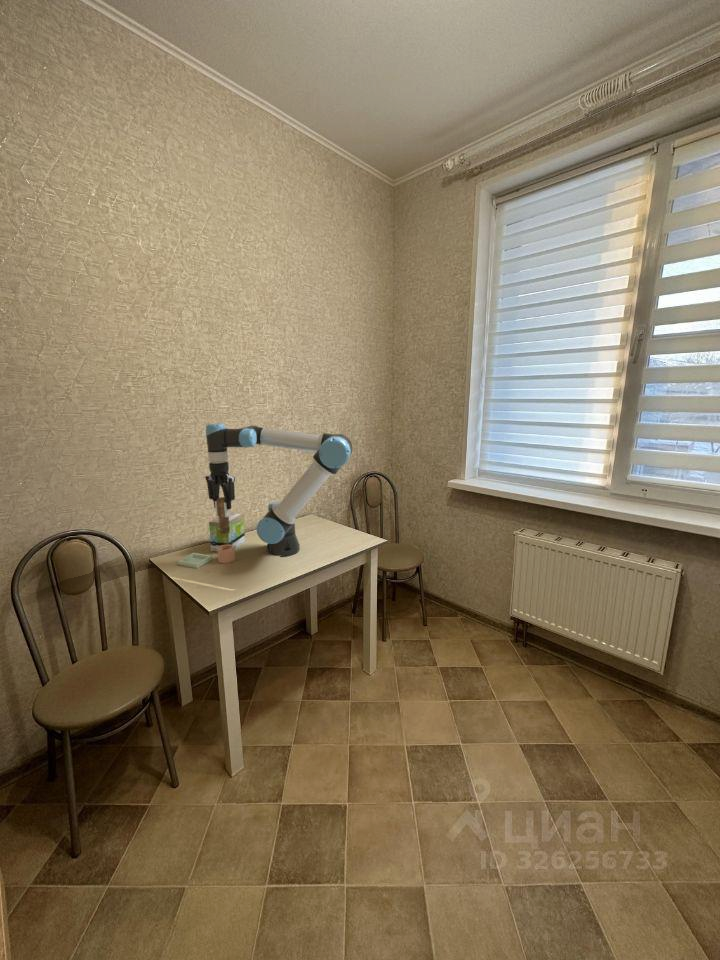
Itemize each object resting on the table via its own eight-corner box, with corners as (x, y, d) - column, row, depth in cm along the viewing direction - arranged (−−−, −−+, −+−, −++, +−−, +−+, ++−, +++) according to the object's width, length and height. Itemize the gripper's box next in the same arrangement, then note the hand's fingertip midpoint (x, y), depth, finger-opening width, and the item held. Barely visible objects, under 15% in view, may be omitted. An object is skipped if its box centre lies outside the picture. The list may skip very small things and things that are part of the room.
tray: (212, 561, 166) (211, 555, 166) (197, 569, 158) (196, 564, 158) (194, 558, 170) (193, 552, 169) (178, 566, 162) (177, 560, 161)
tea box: (230, 553, 174) (227, 523, 171) (210, 552, 176) (207, 521, 173) (246, 541, 189) (244, 513, 185) (227, 540, 191) (225, 512, 187)
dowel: (231, 531, 164) (228, 497, 161) (225, 534, 161) (222, 500, 158) (224, 530, 166) (221, 496, 163) (218, 533, 162) (214, 499, 159)
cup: (237, 559, 168) (236, 545, 167) (228, 565, 162) (226, 551, 161) (225, 557, 170) (224, 543, 169) (215, 563, 164) (214, 549, 163)
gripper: (241, 461, 157) (245, 515, 162) (208, 459, 163) (213, 511, 168) (229, 464, 150) (234, 520, 155) (195, 462, 156) (201, 516, 161)
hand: (223, 515), depth 162 cm, fingers closed on dowel, 4 cm apart
